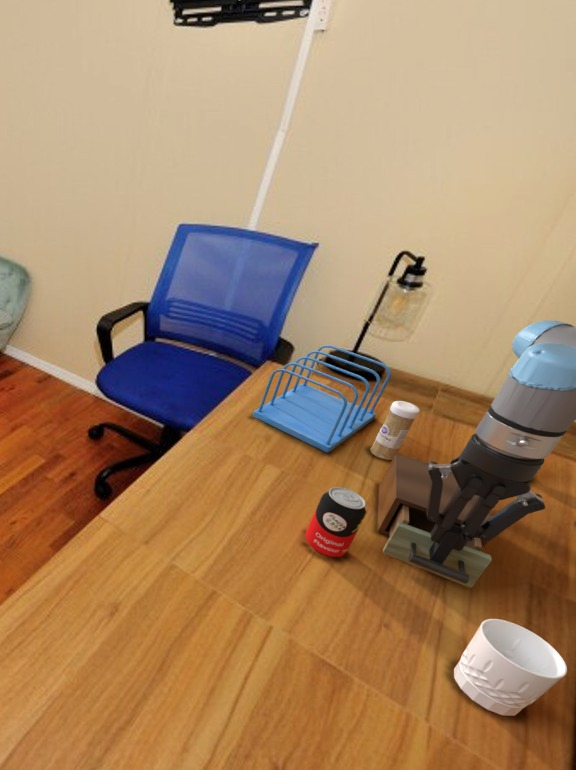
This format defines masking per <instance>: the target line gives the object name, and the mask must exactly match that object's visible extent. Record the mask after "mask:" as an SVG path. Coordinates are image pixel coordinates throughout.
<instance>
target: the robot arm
mask: <svg viewBox="0 0 576 770" xmlns="http://www.w3.org/2000/svg"><path fill="white" fill-rule="evenodd" d="M511 346H512V347H511V349H512V351H513V354H514V355H515V356H516V357H517V358H518V359H517V361H516V362H515V364H513V365H512V366H511V368H510V369H509V372H508V375H507V376H506V378H505V379H504V382H503V383H502V385H501V387H500V389H499V391H498V392H497V394H496V396H495V397H494V399H493V400H492V402H491V404H490V406H489V408H488V409H487V411H485V414H484V415H483V417H482V418H481V420H480V422H479V423H478V425H477V427H476V428H475V430H474V431H475V433H473V434H472V435H471V436H470V438H469V440H468V442H467V443H466V445H465V446H464V448H463V449H462V451H461V453H460V455H459V456H458V457H456V458H454V459H452V460H451V461H450V462H449V463H438V462H436V461H429V462H427V463H428V472H429V475H430V478H431V482H430V489H429V496H428V502H427V519H428V520H429V521H431V522H435V523H436V525H435V526H434V528H433V530H432V531H431V541H433V542H434V543H433V545H432V546H431V548H430V549H429V555H430V560H432V561H435V562H438V563H440V564H443V562H444V561H445V560H446V558H447V557H448V555H449V554H450V552H451V551H452V549H455V550H457V551H460V550H462V549H463V548H464V546H465V545H466V543H467V542H468V541H472V540H473V538H480V539H481V540H483V541H487V542H489V541H492V540H493V539H494V538H496V537H497V536H499V535H500V534H501V533H503V532H504V531H506V530H508V529H509V528H510V527H511V526H513V525H514V524H516V523H517V522H519V521H520V520H522V519H523V518H525V516H526V517H527V515H529V514H532V513H535V512H540V511H544V510H545V509H546V505H545V502H544V499H543V496H542V495H541V494H539V493H536V492H534V491H532V490H531V488H532V487H531V481H532V480H533V479H534V478H535V476H536V475H537V473H538V472H539V469H540V467H541V468H542V466H543V465H544V463H545V459H546V458H548V457H549V456H550V455H551V453H552V452H553V450H554V449H555V448H556V446H557V445H558V442H560V440H561V439H562V438H563V436H564V435H565V434H566V433H567V431H568V430H569V429H570V428H571V426H572V425H573V424H574V422H575V421H576V326H574V325H572V324H570V323H567V322H566V323H565V322H562V321H558V320H542V321H536V322H534V323H531V324H529V325H526V326H525V327H524V328H522V329H521V330H519V332H518V333H517V334H516V335H515V336H514V338H513V340H512V345H511ZM540 470H541V469H540ZM451 472H452V473H453V475H454V477H455V479H456V481H457V484H458V487H457V489H456V491H455V493H454V494H453V496H452V497H451V499H450V500H449V502H448V504H447V505H446V507H445V508H444V510H443V511H442V513H439V507H440V501H441V494H442V488H443V481H442V479H446V478H447V477H448V474H449V473H451ZM474 495H477V496H479V497H478V499H477V500H476V502H475V503H474V505H473V506H472V508H471V509H470V511H469V512H468V514H467V515H466V517H465V518H464V520H463V521H462V523H461V527H460V528H459V526H456V525H453V524H454V523H455V521H456V520H457V518H458V516H459V515H460V513H461V512H462V510H463V509H464V507H465V506H466V504H467V503H468V501H469V500H471V499H472V498H473V496H474ZM514 497H516V498H515V499H514V500H512V501H511V502H509V503H508V504H506V505H505V506H504V507H502V508H501V509H500V510H498V511H497V512H495V514H493V515H491V517H490V518H489V519H487V520H486V521H485V522H483V521H484V520H485V518H486V517H487V515H488V514H489V512H490V513H491V511H492V509H494V508H495V507H496V506H497V505H498V503H499V502H500V501H503V500H506V499H511V498H514ZM482 522H483V523H482Z"/></svg>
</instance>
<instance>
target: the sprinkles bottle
mask: <svg viewBox="0 0 576 770" xmlns="http://www.w3.org/2000/svg"><path fill="white" fill-rule="evenodd" d="M420 412H421V410H420V408H419V407H418V406H417V405H416V404H414V403H411V402H408V401H404V400H395V401H393V402H392V403H391V406H390V407H389V412H388V414H387V416H386V418H385V420H384V422H383V424H382V426H381V427H380V429H379V431H378V432H377V435H376V437H375V440H374V442H373V444H372V445H371V447H370V449H369V450H370V453H371V454H372V455H374V457H376V458H379V459H381V460H385V461H392V459H393V457H394V456H395V454H396V453H397V454H398V451H399V450H400V448H401V447H402V445H403V443H404V441H405V440H406V437H407V435H408V434H409V431H410V430H411V427H412V426H413V423H414V421H415V420H416V419H417V418H418V416H419V413H420Z"/></svg>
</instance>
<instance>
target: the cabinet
mask: <svg viewBox="0 0 576 770" xmlns="http://www.w3.org/2000/svg"><path fill="white" fill-rule="evenodd" d="M390 461H391V462H390V463H389V466H388V467H387V469H386V471H385V473H384V475H383V477H382V479H381V481H380V483H379V485H378V503H377V531H376V532H377V533H379V534H382V535H384V536H386V537H390V521H391V519H392V517H393V516H394V514H395V512H396V510H397V508H398V507H399V505H400V503H401V504H404V505H407V506H410V507H413V508H416V509H419V510H421V511H424V512H427V502H428V496H429V489H430V482H431V478H430V475H429V472H428V463H429V462H426V461H423V460H419V459H416V458H413V457H410V456H406V455H403V454H400V453H398V452H397V453H396V454H395V456H394V457H393V459H392V460H390ZM442 481H443V488H442V494H441V501H440V507H439V513H442V511H443V510H444V508H445V507H446V505H447V504H448V502H449V500H450V499H451V497H452V496H453V494H454V493H455V491H456V489H457V487H458V484H457V481H456V479H455V477H454V475H453V473H452V472H451V473H449V474H448V477H447V478H446V479H442ZM478 497H479V496H477V495H474V496H473V498H472V499H471V500H469V501H468V503H467V504H466V506H465V507H464V509H463V510H462V512H461V513H460V515H459V516H458V518H457V520H456V521H455V522H456V523H459V524H461V523H462V521H463V520H464V518H465V517H466V515H467V514H468V512H469V511H470V509H471V508H472V506H473V505H474V503H475V502H476V500H477V499H478ZM490 517H492V515H491V511H490V512H489V514H488V515H487V517H486V518H485V520H484V521H483V522H485V521H486V520H487V519H489V518H490ZM483 522H482V523H483ZM487 543H488V541H483V540H481V545H482V549H481V551H480V552H482V550H483V549H484V547H485V545H486V544H487Z"/></svg>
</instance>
